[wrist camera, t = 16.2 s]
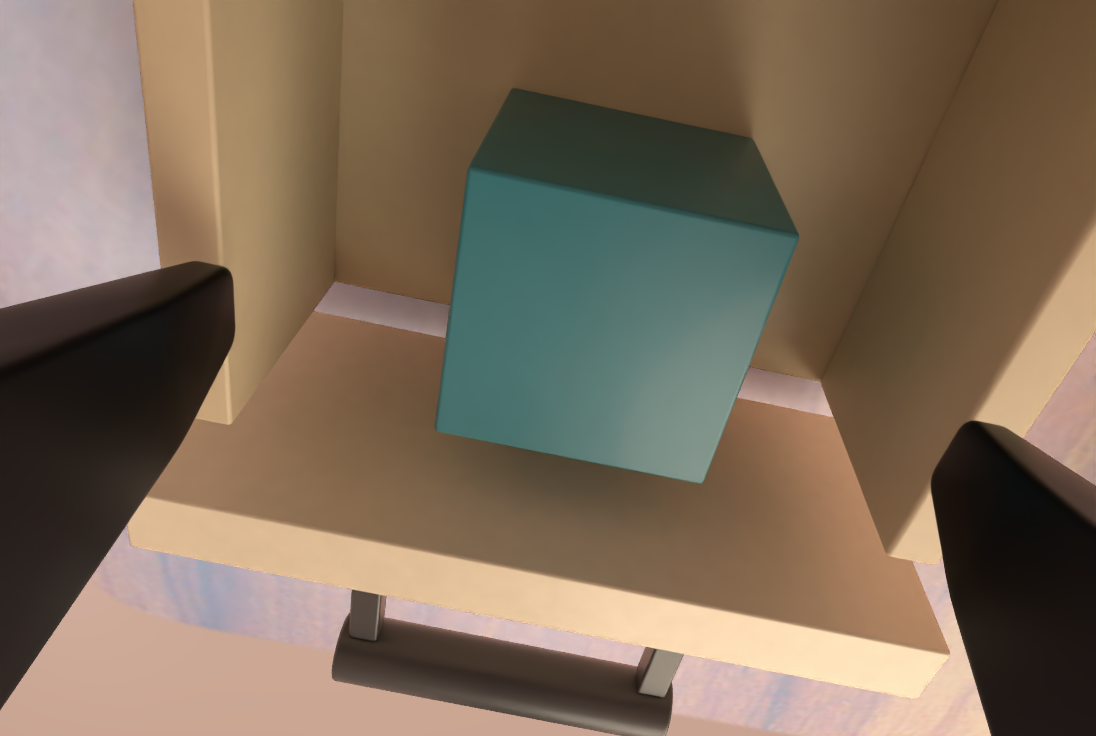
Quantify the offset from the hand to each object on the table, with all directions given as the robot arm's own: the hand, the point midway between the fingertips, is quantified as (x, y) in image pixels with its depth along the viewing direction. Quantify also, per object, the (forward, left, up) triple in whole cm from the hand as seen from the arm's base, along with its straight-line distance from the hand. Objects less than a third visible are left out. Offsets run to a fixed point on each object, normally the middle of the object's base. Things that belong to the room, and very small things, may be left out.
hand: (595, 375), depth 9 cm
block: (0, 0, -5) cm, 5 cm away
